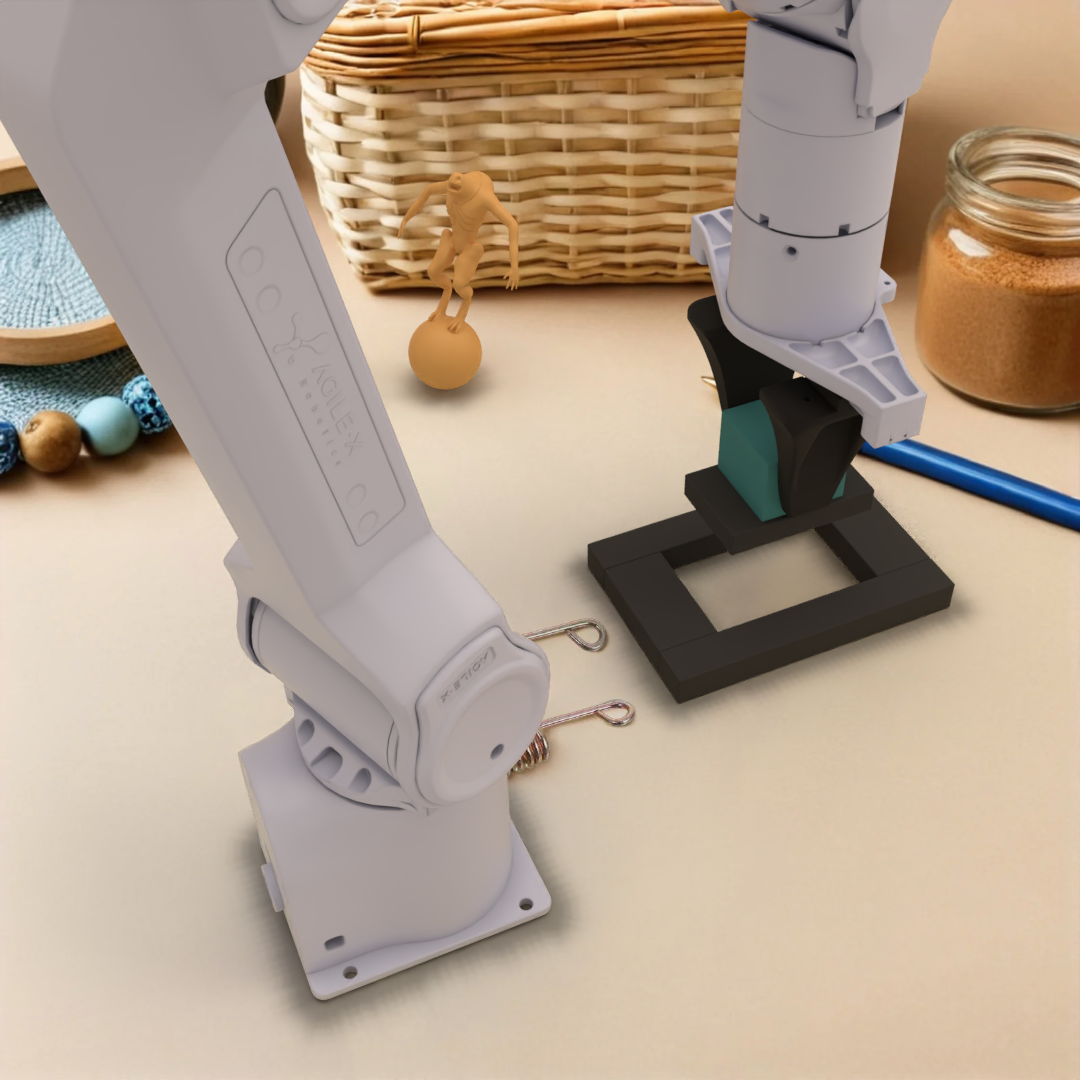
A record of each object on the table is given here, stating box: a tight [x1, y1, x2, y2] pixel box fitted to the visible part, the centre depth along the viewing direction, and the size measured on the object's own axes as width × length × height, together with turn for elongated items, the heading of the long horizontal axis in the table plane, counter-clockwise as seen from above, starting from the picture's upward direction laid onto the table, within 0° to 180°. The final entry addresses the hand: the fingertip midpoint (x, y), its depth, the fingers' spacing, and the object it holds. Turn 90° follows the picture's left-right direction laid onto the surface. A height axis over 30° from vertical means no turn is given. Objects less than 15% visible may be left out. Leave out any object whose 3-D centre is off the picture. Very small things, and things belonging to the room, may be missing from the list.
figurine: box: [397, 170, 520, 391], centre depth 76 cm, size 8×6×12 cm
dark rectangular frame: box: [587, 495, 956, 704], centre depth 67 cm, size 14×9×2 cm
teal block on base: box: [683, 399, 875, 556], centre depth 63 cm, size 7×4×4 cm, turn 113°
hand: (779, 475), depth 63 cm, fingers closed on teal block on base, 4 cm apart
